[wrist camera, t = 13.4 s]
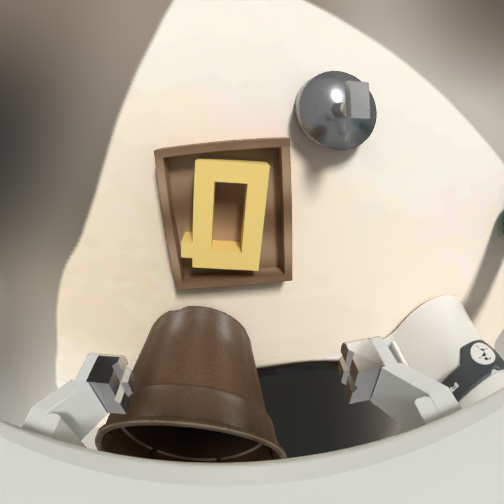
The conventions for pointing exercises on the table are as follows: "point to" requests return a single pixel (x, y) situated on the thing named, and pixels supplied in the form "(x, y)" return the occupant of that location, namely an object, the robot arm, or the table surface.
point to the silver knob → (336, 110)
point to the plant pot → (194, 395)
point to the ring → (201, 239)
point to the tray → (227, 209)
